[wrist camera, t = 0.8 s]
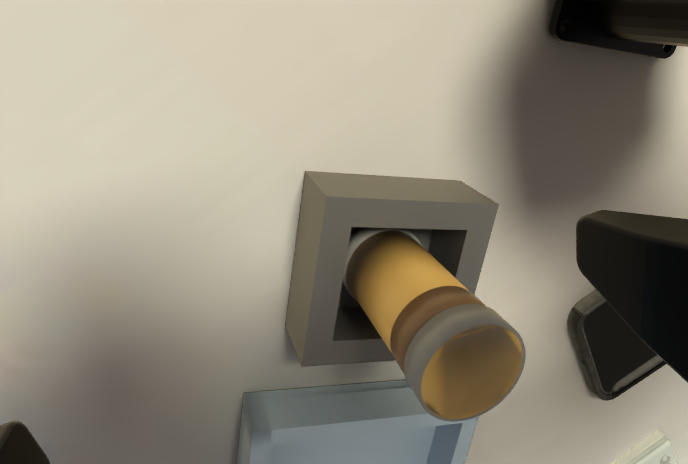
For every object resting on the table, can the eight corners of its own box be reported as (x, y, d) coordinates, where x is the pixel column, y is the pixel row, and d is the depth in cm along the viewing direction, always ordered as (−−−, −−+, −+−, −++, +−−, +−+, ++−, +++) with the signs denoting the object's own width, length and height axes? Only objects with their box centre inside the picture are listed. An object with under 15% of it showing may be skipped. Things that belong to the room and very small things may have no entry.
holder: (460, 180, 23) (498, 204, 21) (427, 319, 26) (457, 356, 23) (305, 171, 21) (326, 196, 18) (285, 325, 23) (301, 366, 21)
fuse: (422, 220, 23) (539, 319, 16) (406, 294, 24) (507, 415, 17) (343, 217, 22) (432, 323, 15) (330, 295, 23) (406, 427, 16)
